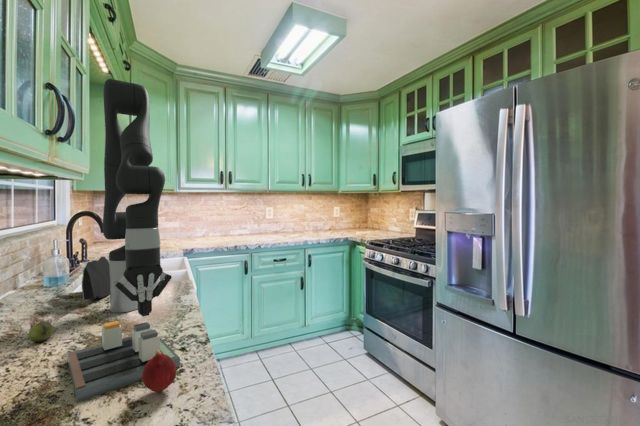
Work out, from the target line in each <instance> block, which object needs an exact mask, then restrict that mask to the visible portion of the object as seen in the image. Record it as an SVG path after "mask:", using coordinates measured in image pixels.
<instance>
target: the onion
mask: <svg viewBox="0 0 640 426" xmlns="http://www.w3.org/2000/svg"><path fill="white" fill-rule="evenodd" d="M177 369H178V368H176V364H175V362H174V361H173V360H172V359H171V358H170V357H169V356H168V355H165V354H163V353H161V352H160V351H159V350H157V351H156V354H155V356H154V357H153V358H152V359H150V360H149V361H148V363H147V364H146V366H145V368H144V370H143V373H142V380H141V381H142V383H143V385H144V387H146V388H147V389H148V390H150V391H151V392H155V393H162V392H164V390H166V389H167V388H168V387H170V385H171V384H172V383H173V382H174V381H175V378H176V377H177Z"/></svg>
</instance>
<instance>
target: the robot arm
mask: <svg viewBox="0 0 640 426" xmlns="http://www.w3.org/2000/svg"><path fill="white" fill-rule="evenodd" d="M149 97H150V96H149V92H148V90H147V88H146V87H145V86H144V85H142V84H139V83H134V82H129V81H124V80H118V79H114V78H108V79H106V80H105V82H104V84H103V109H104V110H103V113H104V127H105V128H104V130H105V133H104V134H105V136H104V137H105V138H104V140H105V141H104V161H103V163H104V164H103V165H104V166H103V170H104V171H103V174H104V175H103V176H104V178H103V179H104V202H103V203H104V204H103V212H102V213H103V216H102V234H103V236H104V238H105V239H107V240H111V241H112V240H113V241H115V240H124V245H122V246H120V247H118V248H115V249H112V250H111V251H109V253H108V262H109V274H110V295H109V303H110V305H109V306H110V308H109V309H110V312H112V313H127V312H131V311H132V312H133V311H136V310H137V313H138V315H140V316H141V317H143V318H144V317H147V316H150V313H152V311H153V305H152V304H153V302H152V301H153V299H154V298H156V297H159V296H160V295H161V294H162V293H163V291H164V289H165V288H166V286H167V285H168V284H169V282H170V281H171V280H172V278H173V277H172V275H171V274H169V273H166V272H164V271H163V267H162V265H161V238H160V231H159V205H160V202H161V199H162V194H163V190H164V187H165V185H166V184H165V183H166V177H165V173H164V171H163V170H162V169H161V168H160V167H158V166H153V165H152V163H153V161H154V157H153V149H152V145H151V138H150V123H151V122H150V98H149ZM118 115H126V116H131V117H132V116H133V117H135V118H134V119H133V120H131V122H129V124H128V125H127V126H126V127H125V128H123V129H122V127H121V125H120V123H119V119H118ZM150 165H151V166H150ZM126 195H148V198H147V199H146V200H145V201H142V202H139V203H135V204H134V203H133V204H130V205H129V204H128V206H126V208H125V211H117V208H118V206H119V204H120V203H121V201H122V200H123V199H124V197H125V196H126ZM158 278H159V283H158V284H157V286H156V287H155V288H154V290H153V285H154V284H155V283H156V281H157V280H158ZM144 290H145V292H144Z"/></svg>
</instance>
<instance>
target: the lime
mask: <svg viewBox="0 0 640 426" xmlns="http://www.w3.org/2000/svg"><path fill="white" fill-rule="evenodd" d="M53 332H54V327H53V324H52V323H51V322H49V321H41V322H39V323H37V324H35V325H34V326H33V327H32V328H31V329H30V330H29V332H28V335H27V337H28V339H29V340H30V341H32V342H37V343H38V342H42V341H45V340H47V339H49V338H50V337H51V336H52V334H53Z"/></svg>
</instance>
